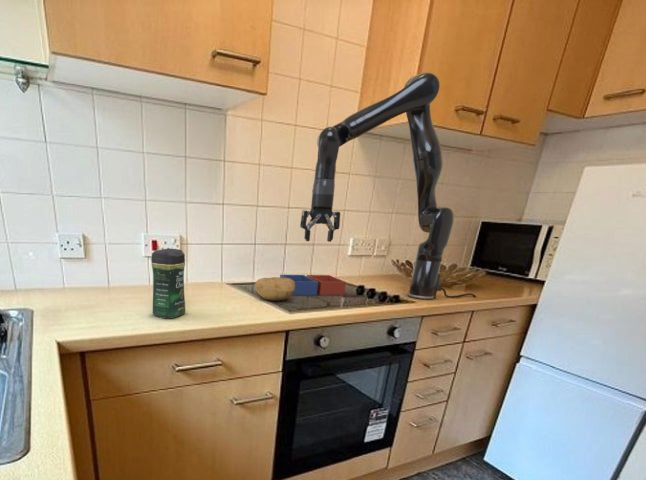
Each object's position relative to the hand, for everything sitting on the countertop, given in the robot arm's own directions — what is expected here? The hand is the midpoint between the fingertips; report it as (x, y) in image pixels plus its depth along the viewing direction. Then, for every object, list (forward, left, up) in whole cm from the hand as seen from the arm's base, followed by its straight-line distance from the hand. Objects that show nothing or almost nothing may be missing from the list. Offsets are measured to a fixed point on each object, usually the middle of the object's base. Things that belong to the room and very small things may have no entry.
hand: (318, 241), depth 149 cm
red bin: (-7, -5, -19) cm, 21 cm away
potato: (+19, +11, -20) cm, 29 cm away
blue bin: (+4, -5, -19) cm, 21 cm away
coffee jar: (+56, +28, -20) cm, 66 cm away
